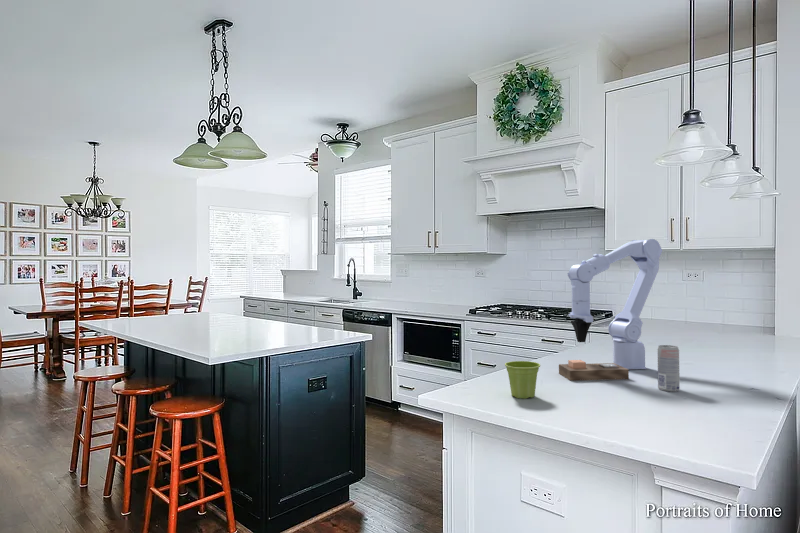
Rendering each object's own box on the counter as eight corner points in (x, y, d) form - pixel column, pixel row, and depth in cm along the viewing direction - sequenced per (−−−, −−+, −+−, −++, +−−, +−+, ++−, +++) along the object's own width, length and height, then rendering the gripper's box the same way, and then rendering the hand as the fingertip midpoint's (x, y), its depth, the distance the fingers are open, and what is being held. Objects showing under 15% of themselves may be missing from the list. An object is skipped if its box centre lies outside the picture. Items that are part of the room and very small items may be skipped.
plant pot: (502, 399, 137) (502, 366, 137) (507, 390, 146) (507, 360, 146) (539, 401, 134) (538, 368, 134) (542, 393, 143) (541, 361, 143)
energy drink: (674, 387, 147) (674, 345, 147) (682, 391, 142) (682, 348, 142) (654, 387, 148) (654, 345, 148) (662, 391, 142) (662, 348, 142)
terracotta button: (580, 369, 164) (580, 359, 164) (585, 372, 160) (585, 362, 160) (568, 369, 164) (568, 360, 164) (573, 372, 160) (572, 362, 160)
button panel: (613, 372, 168) (613, 363, 168) (628, 379, 158) (628, 369, 158) (558, 373, 167) (558, 364, 167) (570, 380, 157) (570, 370, 157)
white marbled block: (611, 372, 164) (611, 363, 164) (617, 375, 160) (617, 366, 160) (599, 373, 164) (599, 363, 164) (604, 376, 160) (604, 366, 160)
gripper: (561, 299, 178) (561, 338, 178) (577, 302, 164) (577, 345, 164) (581, 299, 178) (581, 338, 178) (599, 302, 164) (599, 345, 164)
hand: (581, 341), depth 171 cm, fingers closed
